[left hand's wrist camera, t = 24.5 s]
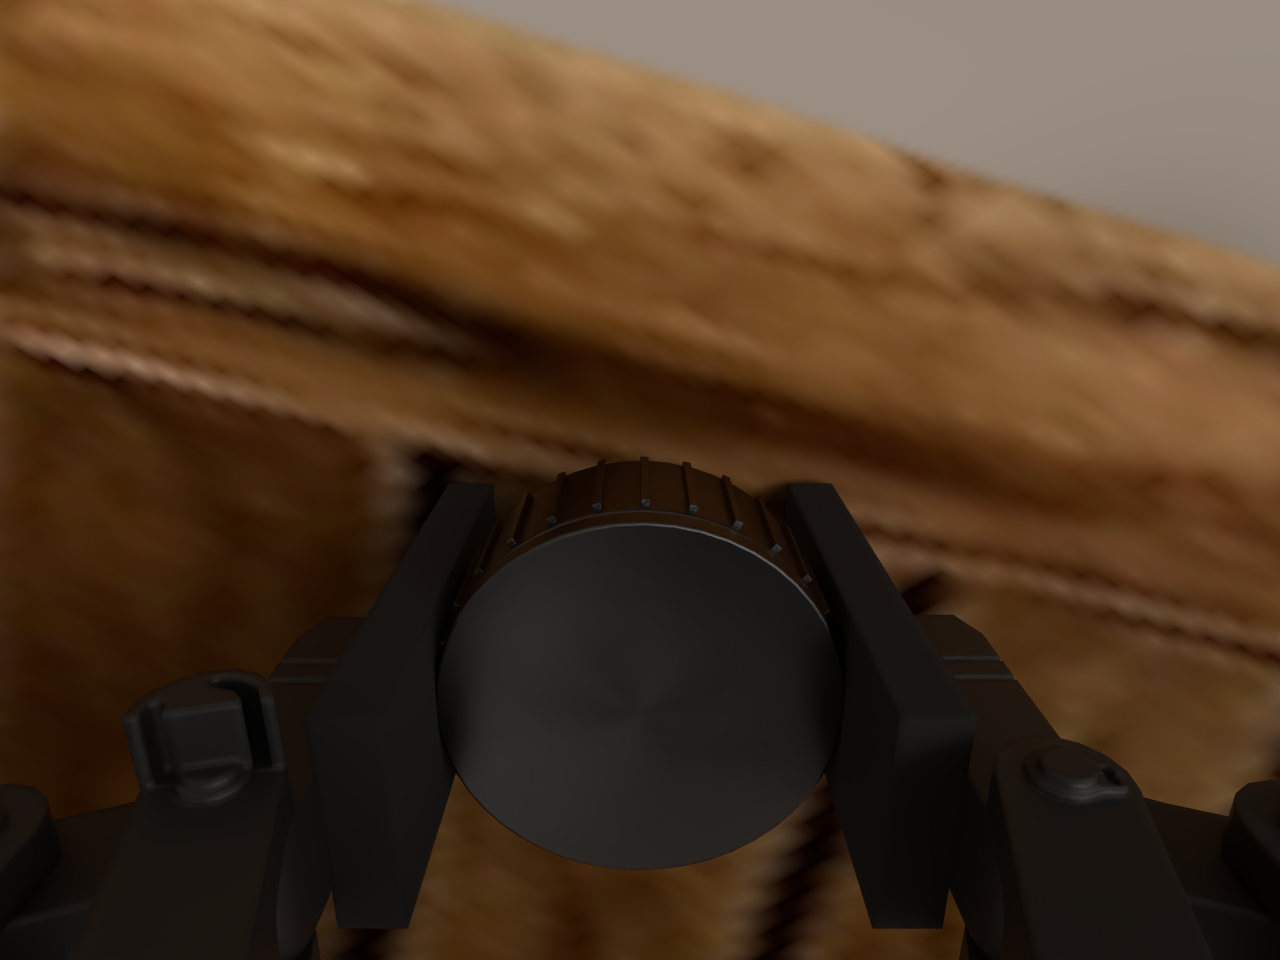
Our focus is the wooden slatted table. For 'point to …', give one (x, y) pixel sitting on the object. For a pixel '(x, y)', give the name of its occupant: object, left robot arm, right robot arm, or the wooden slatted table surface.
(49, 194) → the wooden slatted table surface
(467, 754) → the lid
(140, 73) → the wooden slatted table surface
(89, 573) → the wooden slatted table surface
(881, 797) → the left robot arm
